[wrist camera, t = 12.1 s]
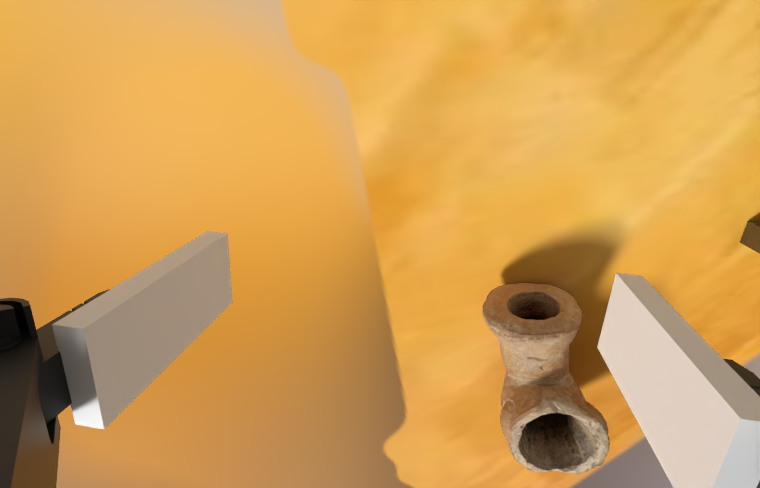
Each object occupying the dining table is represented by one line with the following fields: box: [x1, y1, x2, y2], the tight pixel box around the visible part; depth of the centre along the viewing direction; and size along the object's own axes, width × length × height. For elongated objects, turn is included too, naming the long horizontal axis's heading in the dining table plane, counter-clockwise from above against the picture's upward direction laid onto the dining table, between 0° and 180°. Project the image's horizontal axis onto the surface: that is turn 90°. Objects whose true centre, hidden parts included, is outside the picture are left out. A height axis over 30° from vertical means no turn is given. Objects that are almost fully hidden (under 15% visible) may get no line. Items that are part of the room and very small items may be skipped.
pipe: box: [483, 283, 610, 474], centre depth 42 cm, size 9×16×10 cm, turn 14°
